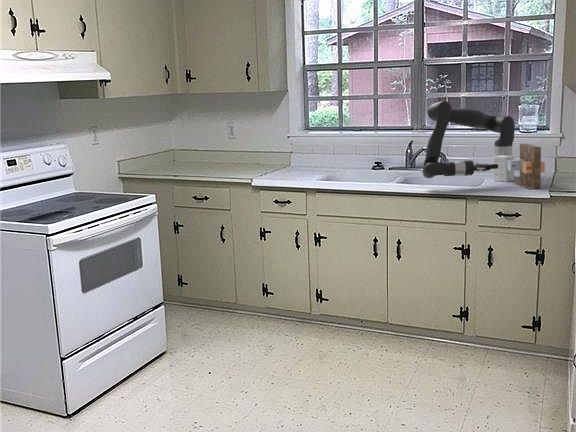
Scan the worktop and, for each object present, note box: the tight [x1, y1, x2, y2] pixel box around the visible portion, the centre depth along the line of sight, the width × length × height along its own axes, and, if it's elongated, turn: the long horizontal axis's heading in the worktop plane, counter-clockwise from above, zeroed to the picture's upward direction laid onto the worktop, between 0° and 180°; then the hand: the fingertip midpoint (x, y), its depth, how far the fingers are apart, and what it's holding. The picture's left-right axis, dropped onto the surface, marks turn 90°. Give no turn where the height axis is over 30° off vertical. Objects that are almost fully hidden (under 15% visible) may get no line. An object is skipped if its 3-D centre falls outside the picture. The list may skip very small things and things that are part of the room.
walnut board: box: [514, 143, 542, 190], centre depth 324 cm, size 21×6×20 cm, turn 179°
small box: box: [493, 155, 515, 183], centre depth 346 cm, size 8×6×13 cm
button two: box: [522, 160, 546, 173], centre depth 318 cm, size 5×9×5 cm, turn 89°
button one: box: [507, 158, 525, 172], centre depth 329 cm, size 5×9×5 cm, turn 89°
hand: (497, 166), depth 330 cm, fingers closed
